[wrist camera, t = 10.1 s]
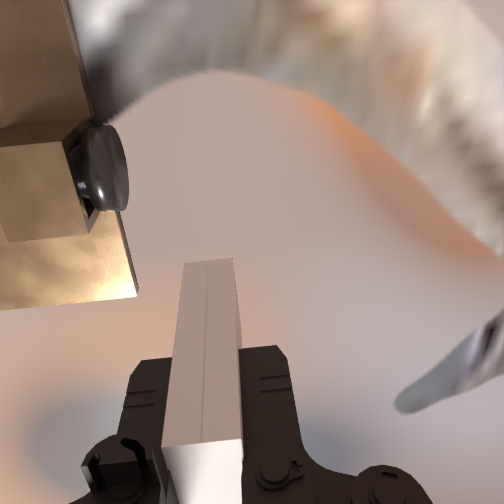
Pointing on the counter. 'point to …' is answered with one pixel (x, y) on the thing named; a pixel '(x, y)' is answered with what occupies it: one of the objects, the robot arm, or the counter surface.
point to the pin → (101, 168)
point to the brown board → (50, 169)
